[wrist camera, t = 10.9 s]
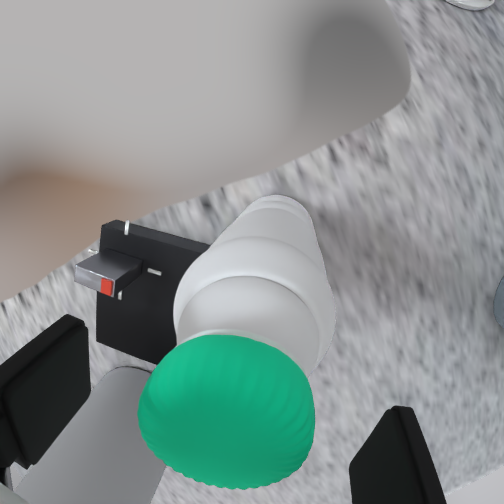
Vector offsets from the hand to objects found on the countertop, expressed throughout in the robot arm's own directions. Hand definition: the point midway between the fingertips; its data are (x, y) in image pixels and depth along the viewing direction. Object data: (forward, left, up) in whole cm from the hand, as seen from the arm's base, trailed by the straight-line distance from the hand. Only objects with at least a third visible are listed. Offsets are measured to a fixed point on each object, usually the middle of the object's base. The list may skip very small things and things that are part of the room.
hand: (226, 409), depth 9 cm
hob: (+10, -10, -23) cm, 27 cm away
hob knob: (+6, -13, -20) cm, 25 cm away
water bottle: (0, 0, -23) cm, 23 cm away
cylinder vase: (+27, -11, -23) cm, 37 cm away
